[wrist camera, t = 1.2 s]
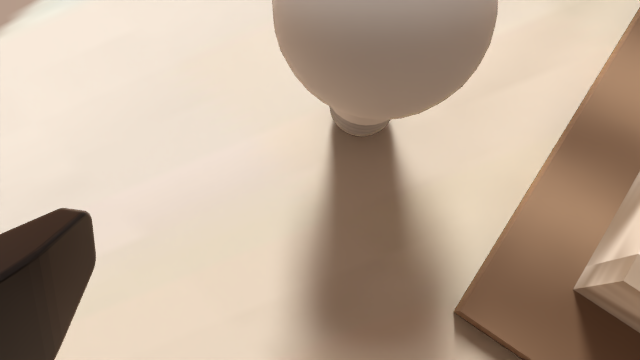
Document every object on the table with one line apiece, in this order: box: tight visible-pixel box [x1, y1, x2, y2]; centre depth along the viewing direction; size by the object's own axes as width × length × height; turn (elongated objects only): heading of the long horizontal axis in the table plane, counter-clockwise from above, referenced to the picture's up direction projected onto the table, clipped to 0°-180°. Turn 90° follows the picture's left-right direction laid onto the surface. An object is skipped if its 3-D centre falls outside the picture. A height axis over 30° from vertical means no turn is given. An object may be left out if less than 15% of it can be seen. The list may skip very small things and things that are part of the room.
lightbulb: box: [272, 0, 498, 136], centre depth 18 cm, size 6×6×11 cm
